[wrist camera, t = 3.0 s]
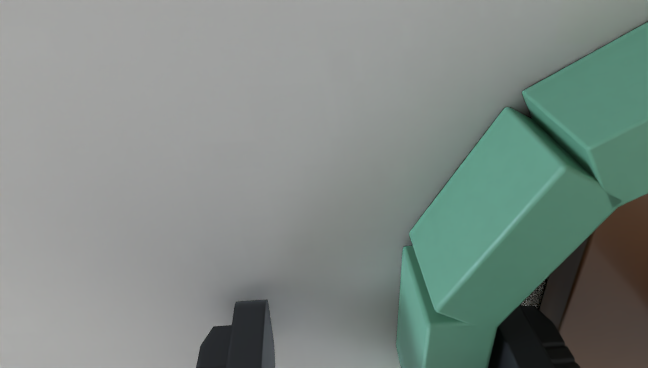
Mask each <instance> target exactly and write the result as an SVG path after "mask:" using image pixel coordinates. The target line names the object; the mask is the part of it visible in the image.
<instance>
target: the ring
mask: <svg viewBox="0 0 648 368" xmlns="http://www.w3.org/2000/svg"><path fill="white" fill-rule="evenodd" d="M522 95H523V97H524V100H525V102H526V105H527V107H528V109H529V112H530V114H531V117H532V119H531V118H529V117H527V116H525V115H523V114H522V113H520V112H518V111H516V110H514V109H512V108H511V107H505V108H504V109H503V110H502V112H501V113H500V114H499V116H498V117H497V118H496V120H495V121H494V122H493V124H492V125H491V126H490V127H489V129H488V130H487V131H486V133H485V134H484V135H483V137H482V138H481V139H480V141H479V142H478V143H477V144H476V146H475V147H474V148H473V150H472V151H471V152H470V154H469V155H468V156H467V158H466V159H465V160H464V161H463V163H462V164H461V165H460V167H459V168H458V169H457V171H456V172H455V173H454V175H453V176H452V177H451V178H450V180H449V181H448V182H447V184H446V185H445V186H444V188H443V189H442V190H441V192H440V193H439V194H438V195H437V197H436V198H435V199H434V201H433V202H432V203H431V205H430V206H429V207H428V209H427V210H426V211H425V212H424V214H423V215H422V216H421V218H420V219H419V220H418V222H417V223H416V224H415V226H414V227H413V228H412V230H411V231H410V233H409V236H410V239H411V242H412V245H413V246H405V247H404V248H403V253H402V267H401V282H400V297H399V311H398V326H397V341H396V347H397V352H398V356H399V361H400V365H401V368H488V365H489V361H490V356H491V352H492V348H493V344H494V339H495V335H496V331H497V327H498V326H499V325H500V324H501V323H502V322H503V321H504V320H505V319H506V318H507V317H508V316H509V315H510V314H511V313H512V312H513V311H514V310H515V309H516V308H517V307H518V306H519V305H520V304H521V303H522V302H523V301H524V300H525V299H526V298H527V297H528V296H529V295H530V294H531V293H532V292H533V291H534V290H535V289H536V288H537V287H538V286H539V285H540V284H541V283H542V282H543V281H544V280H545V279H546V278H547V277H548V276H549V275H550V274H551V273H552V272H553V271H554V270H555V269H556V268H557V267H558V266H559V265H560V264H561V263H562V262H563V261H564V260H565V259H566V258H567V257H568V256H570V255H571V254H572V253H573V252H574V251H575V250H576V249H577V248H578V247H579V246H580V245H581V244H582V243H583V242H584V241H585V240H586V239H587V238H588V237H589V236H590V235H591V234H592V233H593V232H594V231H595V230H596V229H597V228H598V227H599V226H600V225H601V224H602V223H603V222H604V221H605V220H606V219H607V218H608V217H609V216H610V215H611V214H612V213H613V212H614V211H615V210H616V209H617V208H618V207H620V206H622V205H624V204H626V203H628V202H630V201H633V200H635V199H637V198H639V197H641V196H643V195H645V194H648V22H647V23H645V24H643V25H641V26H640V27H638V28H636V29H634V30H632V31H631V32H629V33H627V34H625V35H623V36H621V37H620V38H618V39H616V40H614V41H612V42H611V43H609V44H607V45H605V46H603V47H602V48H600V49H598V50H596V51H594V52H593V53H591V54H589V55H587V56H585V57H583V58H582V59H580V60H578V61H576V62H574V63H573V64H571V65H569V66H567V67H565V68H564V69H562V70H560V71H558V72H556V73H554V74H553V75H551V76H549V77H547V78H545V79H544V80H542V81H540V82H538V83H536V84H535V85H533V86H531V87H529V88H527V89H526V90H524V91H523V92H522Z"/></svg>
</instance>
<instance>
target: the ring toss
mask: <svg viewBox="0 0 648 368" xmlns="http://www.w3.org/2000/svg"><path fill="white" fill-rule="evenodd" d="M539 311H541V312H542V313H543V314H544V315H545V316H546V317H547V318H549V319H550V320H551V321H552V322H553V323H554V325H555V327H556V328H557V330H558V332H559V333H560V335H561V337H562V338H563V340H564V341H565V346H568V348H569V350H570V351H571V353H572V355H573V356H574V358H575V362H576V363H578V365H579V366H580V368H648V194H645V195H643V196H641V197H639V198H637V199H635V200H633V201H630V202H628V203H626V204H624V205H622V206H620V207H618V208H617V209H616V210H615V211H614V212H613V213H612V214H611V215H610V216H609V217H608V218H607V219H606V220H605V221H604V222H603V223H602V224H601V225H600V226H599V227H598V228H597V229H596V230H595V231H594V232H593V233H592V234H591V235H590V236H589V237H588V238H587V239H586V240H585V241H584V242H583V243H582V244H581V245H580V246H579V247H578V248H577V249H576V250H575V251H574V252H573V253H572V254H571V255H570V256H568V257H567V258H566V259H565V260H564V261H563V262H562V263H561V264H560V265H559V266H558V267H557V268H556V269H555V270H554V271H553V272H552V273H551V274H550V275H549V278H548V282H547V285H546V288H545V292H544V295H543V299H542V302H541V305H540V309H539Z"/></svg>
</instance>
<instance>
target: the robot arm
mask: <svg viewBox="0 0 648 368" xmlns="http://www.w3.org/2000/svg"><path fill="white" fill-rule="evenodd" d="M196 368H275V351H274V340H273V333H272V326H271V318H270V311H269V304H268V300H255V301H240V302H236V303H235V307H234V314H233V321H232V325H229V326H214V327H213V328H212V330H211V331H210V333H209V334H208V336H207V337H206V339H205V340H204V341H203V343H202V344H201V346H200V351H199V356H198V361H197V366H196ZM488 368H580V366H579V365H578V363H576V362H575V358H574V356H573V355H572V353H571V351H570V350H569V348H568V346H565V341H564V340H563V338H562V337H561V335H560V333H559V332H558V330H557V328H556V327H555V325H554V323H553V322H552V321H551V320H550V319H549V318H547V317H546V316H545V315H544V314H543V313H542V312H541V311H539V310H538V309H537V308H536V307H535V306H534V305H532V306H521V304H520V305H519V306H518V307H517V308H516V309H515V310H514V311H513V312H512V313H511V314H510V315H509V316H508V317H507V318H506V319H505V320H504V321H503V322H502V323H501V324H500V325H499V326H498V327H497V331H496V335H495V339H494V344H493V348H492V352H491V356H490V361H489V365H488Z"/></svg>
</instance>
